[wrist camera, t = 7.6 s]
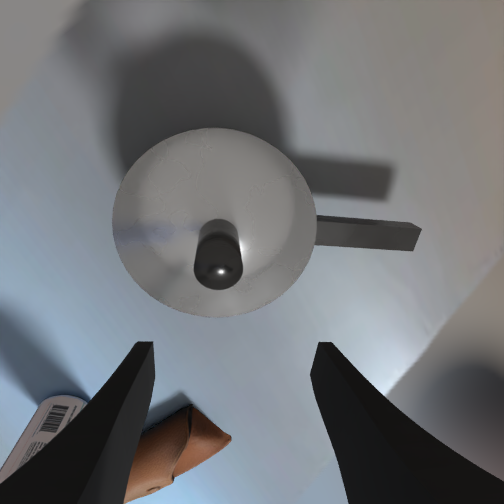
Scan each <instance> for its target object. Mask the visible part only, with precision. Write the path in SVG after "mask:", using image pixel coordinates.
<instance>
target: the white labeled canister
mask: <svg viewBox="0 0 504 504" xmlns="http://www.w3.org/2000/svg"><path fill="white" fill-rule="evenodd" d="M87 404H88V403H87V402H86V401H84V400H82V399H81V398H79V397H76V396H72V395H59V396H52V397H50V398H47V399H45V400H44V401H42V402H41V403H40V405H39V407H38V409H37V410H36V412H35V414H34V415H33V417H32V419H31V420H30V422H29V424H28V425H27V427H26V428H25V430H24V432H23V433H22V435H21V437H20V438H19V440H18V442H17V443H16V445H15V446H14V448H13V450H12V451H11V453H10V455H9V456H8V458H7V460H6V461H5V463H4V464H3V466H2V468H1V469H0V483H2V482H3V481H4V480H5V479H6V478H8V477H9V476H10V475H11V474H13V473H14V472H15V471H16V470H17V469H19V468H20V467H21V466H22V465H23V464H25V463H26V462H27V461H28V460H29V459H31V458H32V457H33V456H34V455H35V454H36V453H37V452H39V451H40V450H41V449H42V448H43V447H44V446H45V445H46V444H47V443H48V442H50V441H51V440H52V439H53V438H54V437H55V436H56V435H57V434H58V433H59V432H60V431H61V430H62V429H63V428H64V427H65V426H66V425H67V424H68V423H69V422H70V421H71V420H72V419H73V418H74V417H75V416H76V415H77V414H78V413H79V412H80V411H81V410H82V409H83V408H84V407H85V406H86V405H87Z"/></svg>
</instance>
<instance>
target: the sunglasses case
mask: <svg viewBox="0 0 504 504" xmlns="http://www.w3.org/2000/svg"><path fill="white" fill-rule="evenodd" d="M192 405H193V404H191V405H190V406H189V407H187V408H183V409H181V410H179V411H178V412H176V413H175V414H173V415H171V416H170V417H168V418H167V419H165V420H164V421H163V422H161V423H159V424H158V425H156V426H155V427H154V428H152V429H150V430H148V431H146V432H145V433H144V434H142V435H141V436H140V440H139V443H138V446H137V450H136V453H135V456H134V460H133V463H132V467H131V471H130V475H129V480H128V484H127V489H126V494H125V499H124V503H123V504H125V503H127V502H130V501H132V500H135V499H137V498H140V497H144V496H146V495H149V494H152V493H154V492H156V491H158V490H160V489H161V488H163V487H165V486H168V485H170V484H172V483H173V481H174V478H175V477H177V476H179V475H180V474H183V473H185V472H186V471H188V470H190V469H192V468H193V467H196V466H197V465H199V464H200V463H202V462H204V461H205V460H207V459H209V458H210V457H211V456H213V455H215V454H216V453H217V452H219V451H220V450H221V449H223V448H224V447H225V446H227V445H228V444H229V443H230V442H231V436H230V435H228V434H227V433H225V432H223V431H222V430H221V429H220V428H219V427H217V426H216V425H215V424H214V423H212V422H211V421H210V420H209V419H208V418H207V417H205V416H204V415H203V414H202V413H200V412H199V411H198V410H197V409H195V408H194V407H191V406H192Z"/></svg>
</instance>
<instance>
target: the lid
mask: <svg viewBox="0 0 504 504" xmlns="http://www.w3.org/2000/svg"><path fill="white" fill-rule="evenodd" d="M112 226H113V236H114V240H115V245H116V248H117V251H118V254H119V256H120V259H121V261H122V263H123V264H124V266H125V268H126V270H127V271H128V273H129V274H130V275H131V277H132V278H133V279H134V281H135V282H136V283H137V284H138V285H139V286H140V287H141V288H142V289H143V290H144V291H145V292H147V293H148V294H149V295H150V296H152V297H153V298H155V299H156V300H158V301H159V302H161V303H163V304H165V305H167V306H169V307H171V308H173V309H175V310H178V311H181V312H184V313H188V314H191V315H196V316H203V317H229V316H235V315H241V314H244V313H248V312H251V311H254V310H256V309H259V308H261V307H263V306H265V305H267V304H269V303H271V302H272V301H274V300H275V299H277V298H278V297H280V296H281V295H282V294H283V293H284V292H286V291H287V290H288V289H289V288H290V287H291V286H292V285H293V284H294V283H295V282H296V280H297V279H298V278H299V276H300V275H301V273H302V272H303V271H304V269H305V267H306V265H307V263H308V261H309V259H310V256H311V254H312V251H313V248H314V243H315V239H316V230H317V217H316V210H315V204H314V201H313V197H312V194H311V191H310V189H309V187H308V185H307V183H306V181H305V179H304V177H303V176H302V174H301V173H300V171H299V170H298V168H297V167H296V166H295V165H294V164H293V163H292V162H291V161H290V160H289V158H288V157H286V156H285V155H284V154H283V153H282V152H280V151H279V150H278V149H277V148H275V147H274V146H272V145H270V144H269V143H267V142H266V141H264V140H262V139H260V138H258V137H256V136H253V135H251V134H249V133H245V132H242V131H238V130H234V129H227V128H200V129H193V130H189V131H185V132H182V133H179V134H176V135H174V136H172V137H169V138H167V139H165V140H163V141H161V142H159V143H158V144H156V145H155V146H153V147H152V148H150V149H149V150H148V151H146V152H145V153H144V154H143V155H142V156H141V157H140V158H139V159H138V160H137V161H136V162H135V163H134V164H133V166H132V167H131V168H130V169H129V171H128V172H127V174H126V176H125V177H124V179H123V181H122V182H121V185H120V187H119V190H118V192H117V195H116V198H115V203H114V207H113V218H112Z"/></svg>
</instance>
